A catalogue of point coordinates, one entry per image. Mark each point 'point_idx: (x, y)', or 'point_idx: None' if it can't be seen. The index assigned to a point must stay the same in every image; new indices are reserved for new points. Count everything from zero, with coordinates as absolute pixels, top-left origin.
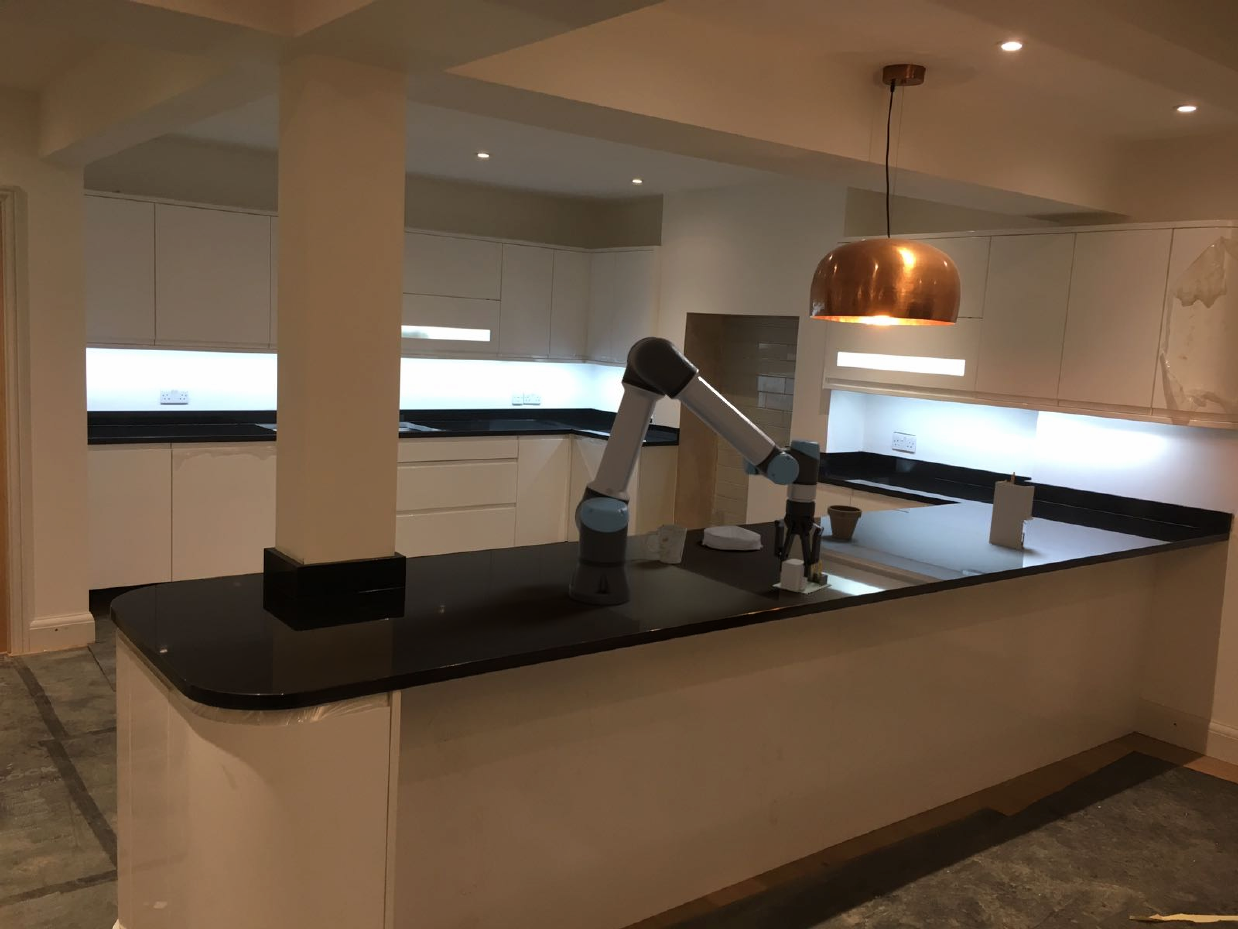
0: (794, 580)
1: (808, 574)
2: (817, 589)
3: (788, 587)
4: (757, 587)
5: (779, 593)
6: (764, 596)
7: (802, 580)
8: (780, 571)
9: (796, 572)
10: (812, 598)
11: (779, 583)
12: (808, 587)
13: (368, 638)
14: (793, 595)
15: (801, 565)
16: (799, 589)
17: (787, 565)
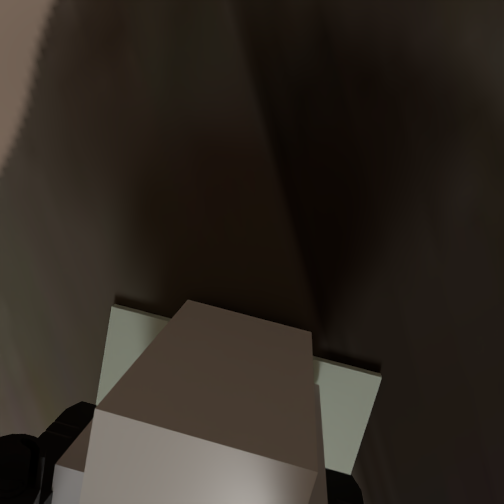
0: (180, 334)
1: (57, 426)
2: None
3: (241, 319)
4: (480, 281)
5: (283, 214)
6: (361, 41)
7: None
8: (348, 476)
9: (140, 366)
10: (52, 231)
11: (350, 454)
12: None
13: None
14: (181, 225)
15: (81, 469)
16: None
17: (242, 428)
